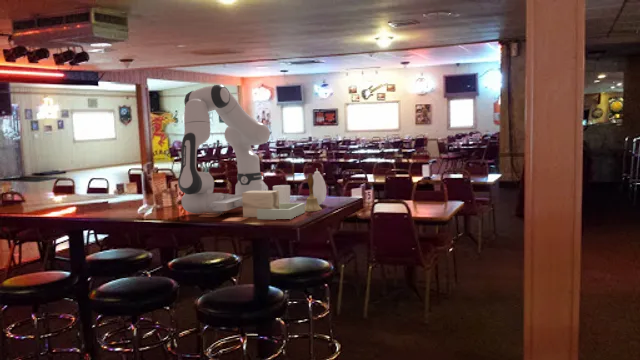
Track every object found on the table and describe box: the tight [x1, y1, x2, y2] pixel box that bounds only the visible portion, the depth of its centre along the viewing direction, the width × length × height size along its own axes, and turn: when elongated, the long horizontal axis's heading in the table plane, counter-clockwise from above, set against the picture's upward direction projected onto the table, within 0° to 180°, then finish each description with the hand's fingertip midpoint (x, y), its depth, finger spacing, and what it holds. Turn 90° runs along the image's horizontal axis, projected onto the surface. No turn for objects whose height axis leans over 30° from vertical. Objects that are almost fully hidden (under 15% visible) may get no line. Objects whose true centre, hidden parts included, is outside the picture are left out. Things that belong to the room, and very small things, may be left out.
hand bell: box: [305, 173, 323, 212], centre depth 240 cm, size 8×8×16 cm
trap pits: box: [198, 211, 250, 222], centre depth 231 cm, size 20×24×1 cm
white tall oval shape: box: [308, 169, 327, 206], centre depth 255 cm, size 8×8×18 cm
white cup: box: [272, 184, 291, 203], centre depth 250 cm, size 8×8×10 cm
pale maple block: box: [242, 190, 279, 218], centre depth 230 cm, size 8×13×10 cm, turn 72°
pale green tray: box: [256, 202, 306, 220], centre depth 228 cm, size 18×14×4 cm
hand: (246, 203), depth 232 cm, fingers closed, pressing on pale maple block
